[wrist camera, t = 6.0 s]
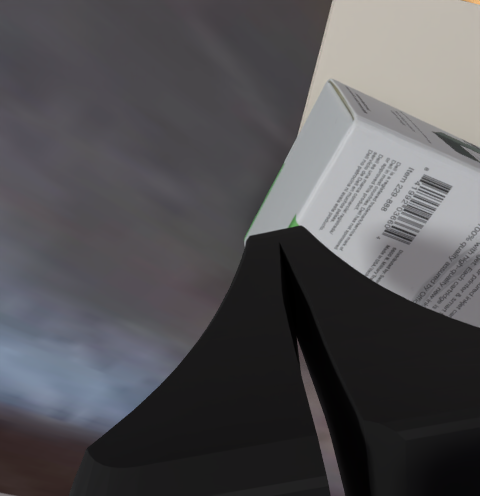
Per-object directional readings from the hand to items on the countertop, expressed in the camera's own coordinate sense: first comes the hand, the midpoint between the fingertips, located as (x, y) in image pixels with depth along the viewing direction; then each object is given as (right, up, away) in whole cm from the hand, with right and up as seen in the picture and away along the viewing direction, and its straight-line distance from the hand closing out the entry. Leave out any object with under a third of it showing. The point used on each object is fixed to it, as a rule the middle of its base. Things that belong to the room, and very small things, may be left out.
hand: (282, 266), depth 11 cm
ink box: (+1, +3, +7) cm, 8 cm away
